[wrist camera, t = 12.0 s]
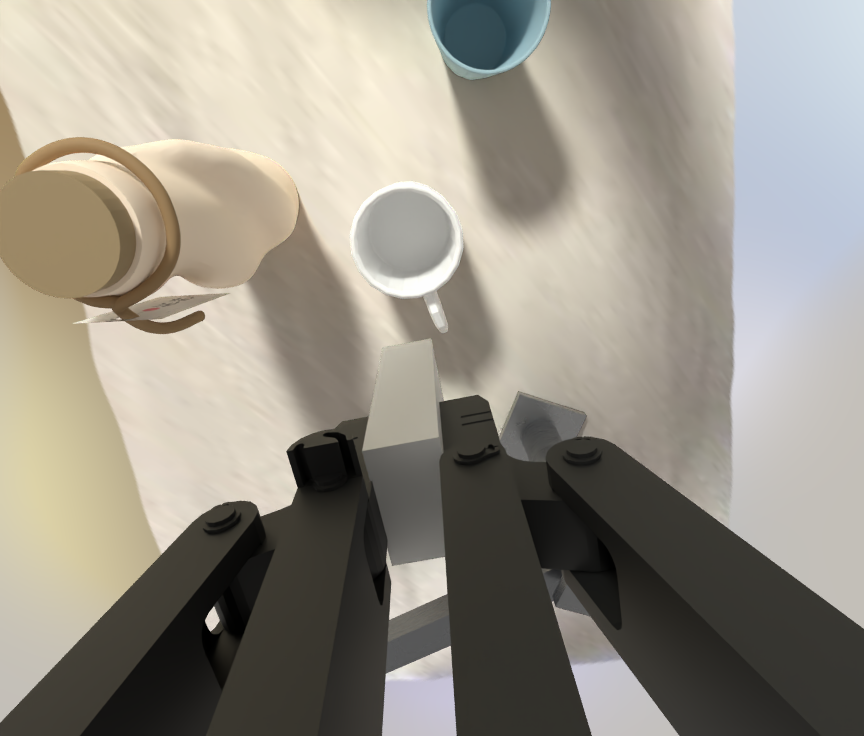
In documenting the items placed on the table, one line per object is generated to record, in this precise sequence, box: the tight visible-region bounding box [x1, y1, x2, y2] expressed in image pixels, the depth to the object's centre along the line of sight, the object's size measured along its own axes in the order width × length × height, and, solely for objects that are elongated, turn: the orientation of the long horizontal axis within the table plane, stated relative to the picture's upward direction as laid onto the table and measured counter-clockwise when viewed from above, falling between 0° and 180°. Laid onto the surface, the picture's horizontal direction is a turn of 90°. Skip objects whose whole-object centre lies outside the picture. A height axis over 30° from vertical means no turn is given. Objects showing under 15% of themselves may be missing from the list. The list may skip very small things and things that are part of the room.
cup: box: [427, 0, 551, 80], centre depth 40 cm, size 8×8×10 cm
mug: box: [350, 181, 464, 333], centre depth 45 cm, size 8×12×10 cm
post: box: [499, 391, 590, 616], centre depth 46 cm, size 7×7×22 cm
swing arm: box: [386, 568, 562, 673], centre depth 40 cm, size 19×3×2 cm, turn 118°
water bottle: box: [0, 137, 299, 334], centre depth 35 cm, size 10×9×28 cm
